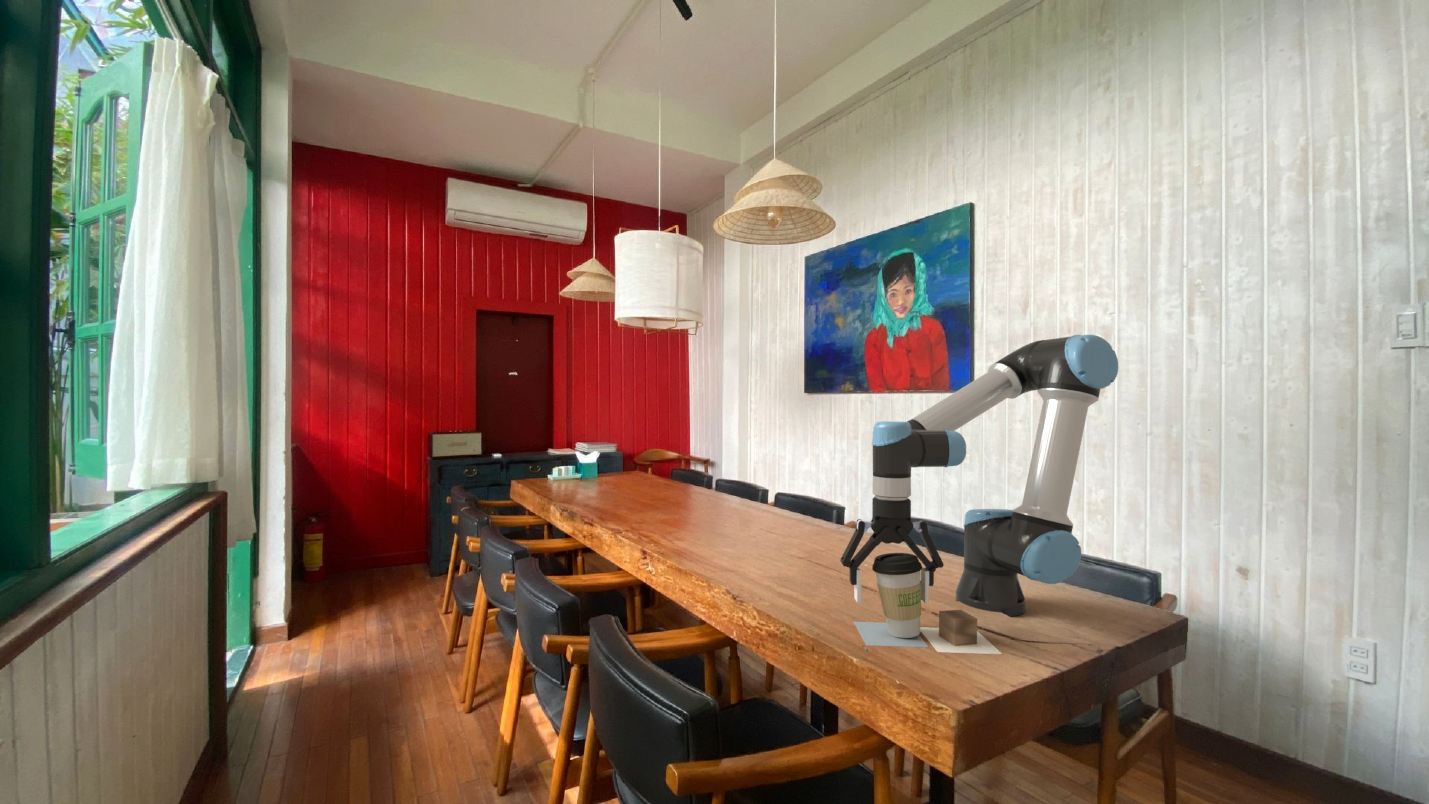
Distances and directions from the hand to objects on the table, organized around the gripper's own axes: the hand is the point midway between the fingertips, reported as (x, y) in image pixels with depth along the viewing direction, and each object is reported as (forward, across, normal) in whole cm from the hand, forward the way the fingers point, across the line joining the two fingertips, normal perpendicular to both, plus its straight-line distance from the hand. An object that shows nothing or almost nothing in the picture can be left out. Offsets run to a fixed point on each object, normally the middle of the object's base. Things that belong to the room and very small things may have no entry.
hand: (891, 601), depth 116 cm
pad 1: (+8, 0, 0) cm, 8 cm away
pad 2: (+8, -12, +2) cm, 15 cm away
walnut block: (+7, -12, +2) cm, 14 cm away
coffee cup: (+6, -3, 0) cm, 7 cm away
